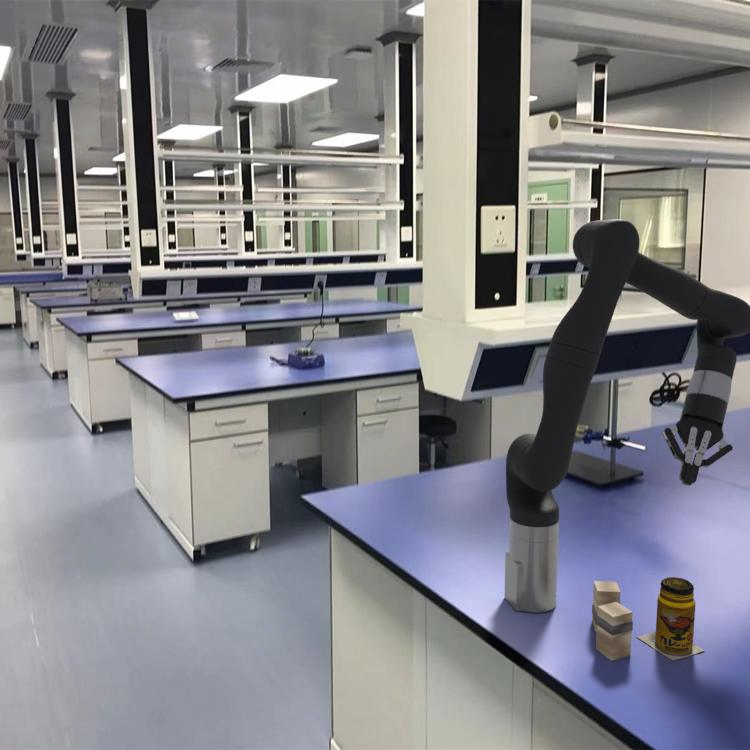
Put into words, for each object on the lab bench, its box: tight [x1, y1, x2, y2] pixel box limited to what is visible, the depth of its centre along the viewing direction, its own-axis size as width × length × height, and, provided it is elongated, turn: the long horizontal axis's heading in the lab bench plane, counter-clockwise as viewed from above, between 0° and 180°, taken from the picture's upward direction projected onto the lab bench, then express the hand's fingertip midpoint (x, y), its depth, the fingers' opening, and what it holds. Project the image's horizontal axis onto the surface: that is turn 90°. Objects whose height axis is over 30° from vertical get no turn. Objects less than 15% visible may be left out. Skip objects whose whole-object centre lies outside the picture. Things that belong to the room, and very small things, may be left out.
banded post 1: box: [591, 580, 621, 633], centre depth 135 cm, size 4×4×8 cm
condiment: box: [636, 576, 705, 662], centre depth 128 cm, size 7×8×12 cm
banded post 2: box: [595, 602, 634, 662], centre depth 126 cm, size 4×4×8 cm
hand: (686, 484), depth 139 cm, fingers closed
